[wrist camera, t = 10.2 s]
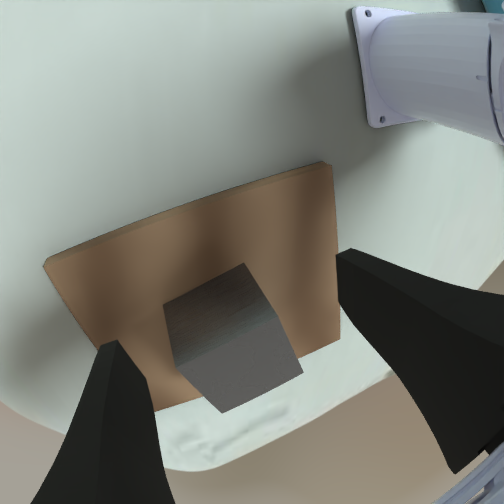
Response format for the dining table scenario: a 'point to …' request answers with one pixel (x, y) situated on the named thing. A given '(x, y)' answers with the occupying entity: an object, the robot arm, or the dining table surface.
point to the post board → (209, 269)
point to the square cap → (229, 340)
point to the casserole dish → (493, 6)
